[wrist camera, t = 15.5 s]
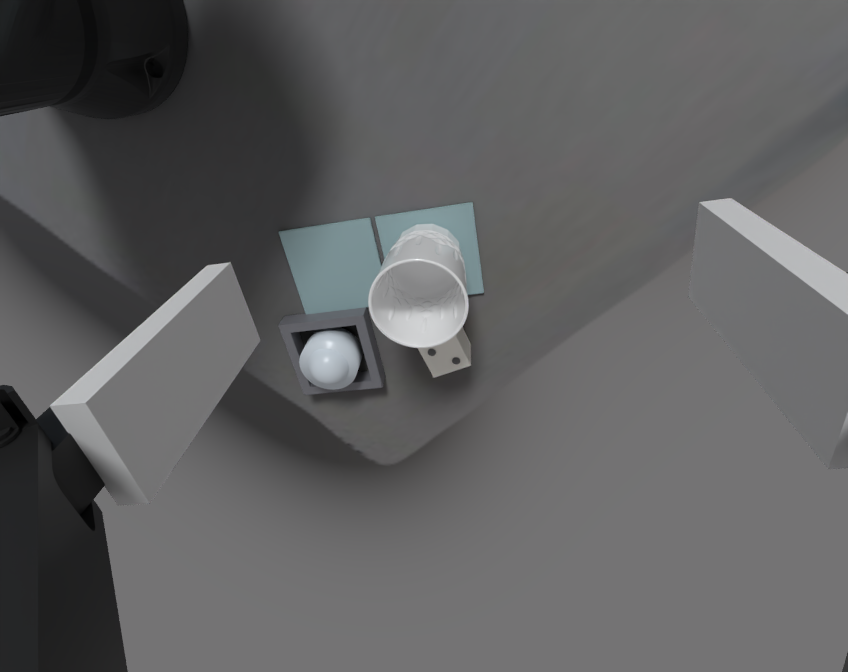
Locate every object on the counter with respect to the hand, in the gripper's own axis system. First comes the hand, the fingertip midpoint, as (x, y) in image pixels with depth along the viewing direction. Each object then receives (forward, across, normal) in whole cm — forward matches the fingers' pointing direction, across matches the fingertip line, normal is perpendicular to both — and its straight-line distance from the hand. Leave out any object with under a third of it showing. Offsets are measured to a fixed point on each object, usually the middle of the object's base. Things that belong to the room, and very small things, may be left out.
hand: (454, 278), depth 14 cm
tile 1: (+32, -14, -12) cm, 37 cm away
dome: (+31, -16, -21) cm, 41 cm away
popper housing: (+32, -16, -21) cm, 41 cm away
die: (+32, -4, -21) cm, 38 cm away
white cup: (+31, -5, -12) cm, 34 cm away
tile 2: (+32, -5, -12) cm, 34 cm away
